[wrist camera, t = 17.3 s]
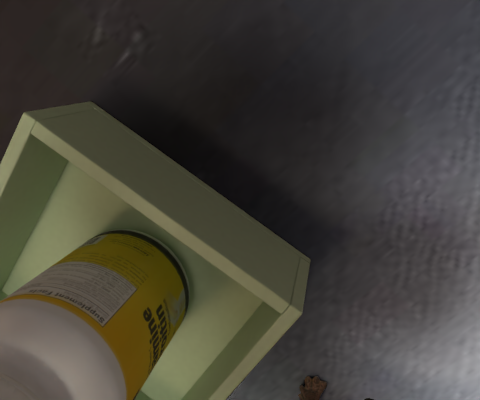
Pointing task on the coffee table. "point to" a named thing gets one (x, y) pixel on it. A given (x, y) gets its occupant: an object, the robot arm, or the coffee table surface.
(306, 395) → the dinosaur figurine
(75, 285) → the pill bottle
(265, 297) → the open storage box
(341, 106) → the coffee table surface
